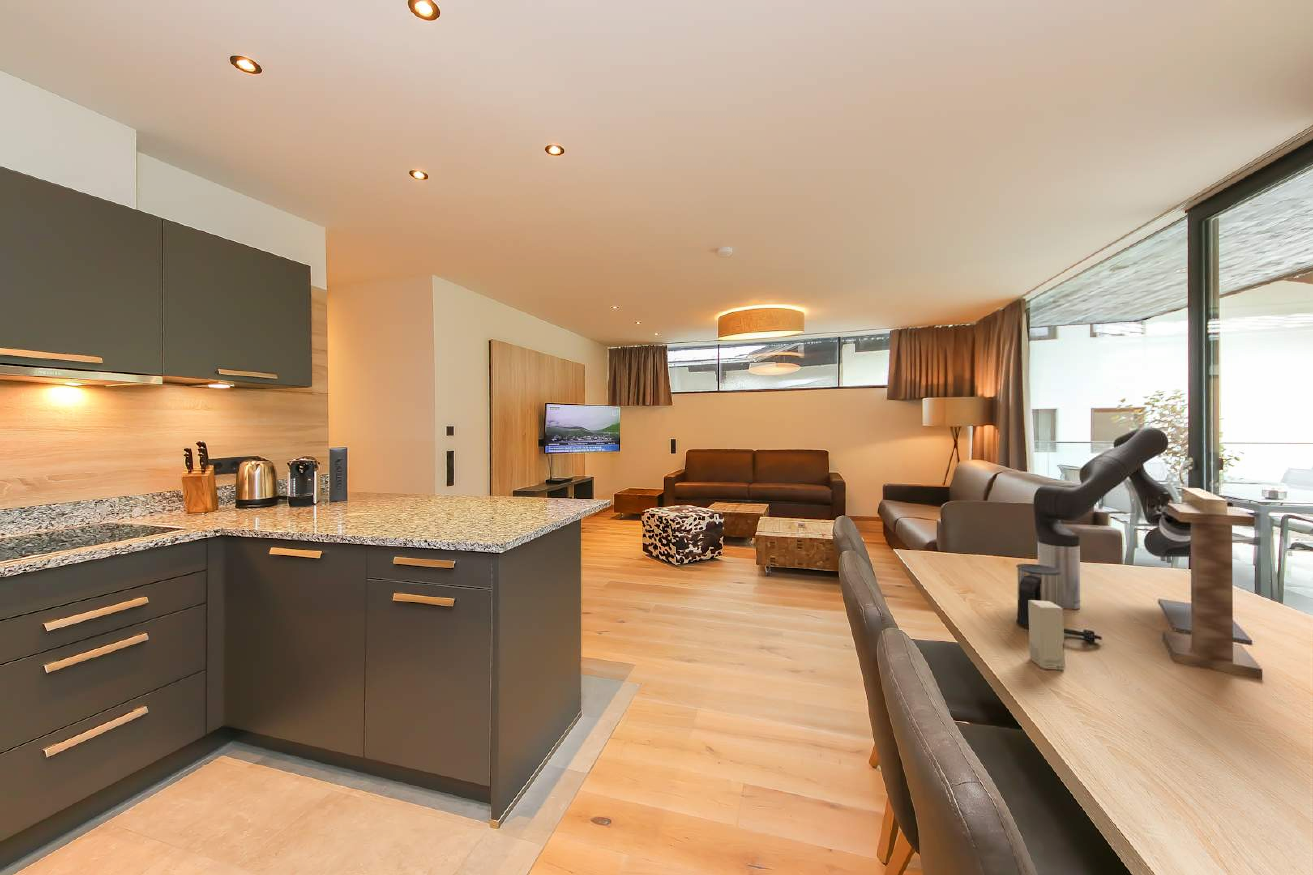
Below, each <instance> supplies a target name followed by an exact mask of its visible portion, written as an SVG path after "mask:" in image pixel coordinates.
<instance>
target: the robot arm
mask: <svg viewBox="0 0 1313 875" xmlns="http://www.w3.org/2000/svg"><path fill="white" fill-rule="evenodd" d="M1168 447H1169V439H1168V436H1167V434H1166V433H1165V432H1163V431H1162V430H1161V429H1159V428H1157V427H1154V426H1153V427H1152V426H1143V427H1139V428H1135V429H1134V430H1131V431H1128V432H1127V433H1125V434H1123V435H1120V436H1118V437H1116V438H1115V439H1114V442H1113V448H1110V449H1108V450H1106V451H1104V452H1102V453H1100V454H1098V455H1096V456H1095V457H1093V458H1092V459H1090V460H1089V461H1087V462H1086V463H1084V465H1082V466H1081V468H1080V470H1079V475H1078V476H1079V480H1080V484H1079V485H1077V486H1075V487H1065V486H1053V485H1042V486H1039V487H1038V488H1037V489H1036V491H1035V493H1034V496H1033V503H1032V504H1033V515H1034V518H1033V519H1034V529H1035V530H1034V531H1035V533H1036V534H1035V535H1036V537H1037V565H1043V566H1049V567H1053V568H1057V569H1059V570H1061V571H1062V573H1060V607H1061V608H1063V610H1065V609H1067V610H1076V609H1080V608H1081V552H1080V551H1081V545H1080V544H1081V539H1080V536H1079V535H1078V534H1077V533H1075V532H1074V531H1071V530H1069V529H1068V528H1066V527H1065V526H1064V525H1063V524H1061V522H1060V521H1067V522H1068V521H1069V522H1073V521H1075V522H1076V521H1079V520H1081V519H1082V518H1084V517H1085V516H1086V515H1087V514H1089V512H1090V511H1091V510H1092V509H1093V508H1094V506H1096V504H1097V503H1098V502H1099V501H1100V500H1102V498H1104V497H1105V496H1106V495H1108V494H1109V492H1111V491H1112V490H1113V489H1114V488H1117V487H1118V486H1119V485H1121V484H1122V483H1123V482H1124V481H1125V480H1127V479H1129V481H1130V482H1131V485H1133V488H1134V489H1135V491H1136V494H1137V496H1138V499H1139V500H1138V501H1139V502H1140V506H1141V509H1142V511H1143V515H1144V518H1145V521H1146V522H1147V524H1149V525H1152V526H1156V527H1155V528H1153V529H1150V530H1149V531H1147V533H1146V535H1145V536H1144V540H1143V546H1144V548H1145V550H1146V551H1147V552H1148V553H1149V554H1151V555H1153V556H1155V557H1158V558H1159V557H1160V558H1187V557H1188V558H1191V522H1180V521H1179V520H1177V519H1176V518H1175V517H1173V516H1172V515H1171V514H1170V513H1168V512H1167V503H1170V504H1188V503H1186V502H1176V501H1175V500H1174V498H1173V497H1174V496H1172V493H1171V492H1170V491H1169V490H1168V489H1167V488H1166V487H1165V486H1163V485H1162V484H1161V483H1160V482H1158V481H1157V480H1156V479H1154V478H1153V477H1151V476H1150V475H1149V473H1148V472H1147V471H1146V469H1145V466H1144V464H1145V463H1147V462H1148V461H1150V460H1151V459H1154V458H1155V457H1158V456H1159V455H1161V454H1163V453H1164V452H1166V451H1167V450H1168ZM1215 495H1216V496H1219V497H1221V498H1223V499H1226V497H1225V496H1224V497H1223V496H1222V495H1221V494H1215ZM1188 505H1189V504H1188ZM1227 507H1234V503H1233V502H1230V501H1227Z"/></svg>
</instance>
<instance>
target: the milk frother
mask: <svg viewBox="0 0 1313 875" xmlns="http://www.w3.org/2000/svg"><path fill="white" fill-rule="evenodd" d="M1015 567H1016V568H1017V612H1016V616H1017V619H1016V620H1015V621H1016V624H1017V625H1019V626H1021V627H1022V628H1024V629H1028V630H1029V612H1028V600H1037V601H1050V602H1052V603H1054V604H1056V605H1058V606H1059V607H1060V573H1062V571H1061V570H1059V569H1057V568H1053V567H1049V566H1043V565H1038V564H1034V563H1019V564H1016V566H1015ZM1064 634H1066V635H1072V636H1077V637H1083V640H1084V642H1087V643H1095V642H1096V641H1095V640H1099V641H1102V640H1103V638H1102V636H1100V635H1097V634H1095V631H1094V630H1087V629H1084V630H1083V631H1080V630H1074V629H1068V628H1064Z"/></svg>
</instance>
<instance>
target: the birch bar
mask: <svg viewBox="0 0 1313 875" xmlns="http://www.w3.org/2000/svg"><path fill="white" fill-rule="evenodd" d="M1216 495H1217V494H1213V493H1211V492H1209V491H1206V490H1204V489H1202V488H1199V487H1198V488H1197V487H1181V501H1182V502H1183V503H1188V504H1189V505H1191V506H1193V507H1194V508H1196V509H1198V510H1200V511H1201V512H1203V513H1205V514H1218V515H1227V502H1228V500H1227V498H1225V499H1223V498H1221V497H1219V496H1216Z"/></svg>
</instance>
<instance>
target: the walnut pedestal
mask: <svg viewBox="0 0 1313 875" xmlns="http://www.w3.org/2000/svg"><path fill="white" fill-rule="evenodd" d="M1167 512H1168V513H1170V514H1171V515H1172V516H1173V517H1175V518H1176V519H1177V520H1179V521H1180V522H1191V557H1190V603H1191V635H1187V634H1183V633H1182V634H1181V633H1177V632H1170V631H1165V630H1164V631H1162V642H1163V643H1164V645H1165V648H1166V649H1167V652H1168V653H1169V655H1170V656H1171V659H1172V661H1173V662H1174V663H1178V664H1183V665H1188V666H1193V667H1197V668H1201V669H1206V670H1207V669H1208V670H1213V671H1217V672H1223V673H1228V674H1233V675H1238V676H1243V677H1248V678H1252V679H1253V678H1254V679H1259V680H1263V668H1262V667H1261V666H1260V665H1259V664H1258V662H1256V660H1255V659H1254V658H1253V656H1252V655H1251V654H1250V653H1249V651H1248V650H1246V649H1245V647H1244V645H1242V644H1240V643H1235V642H1234V641H1233V620H1234V619H1233V618H1234V616H1233V615H1234V613H1233V612H1234V611H1233V606H1234V605H1233V603H1234V602H1233V601H1234V600H1233V594H1234V593H1233V591H1234V590H1233V588H1234V587H1233V584H1234V583H1233V526H1238V527H1251V528H1254V527H1255V516H1253V515H1251V514H1249V513H1247V512H1245V511H1243V510H1240V509H1239V508H1236V507H1234V506H1233V507H1227V515H1218V514H1205V513H1203V512H1201V511H1200V510H1198V509H1196V508H1194V507H1193V506H1191V505H1188V504H1170V503H1167Z"/></svg>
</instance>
